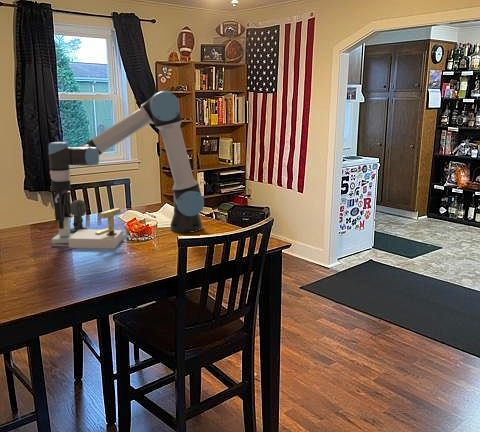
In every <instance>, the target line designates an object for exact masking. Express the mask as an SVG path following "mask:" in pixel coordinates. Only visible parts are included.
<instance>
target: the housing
mask: <svg viewBox="0 0 480 432" xmlns="http://www.w3.org/2000/svg"><path fill="white" fill-rule="evenodd" d="M101 230H102V229H89V228H87V229H79V230H78V231H77V232H76V233H74V234H73V235H72V236H71V237H69V238H68V242H69V246H68V248H69V249H74V248H75V249H116V248H117V247H118V246H119V244H120V243H121V242H122V240H123V239H124V231H123V229H114V234H112V235H110V234H109V232H107V233H104V234H101V235H95V232H98V231H101Z"/></svg>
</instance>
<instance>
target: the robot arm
mask: <svg viewBox="0 0 480 432" xmlns="http://www.w3.org/2000/svg"><path fill="white" fill-rule="evenodd" d="M180 106H181V104H180V100H179V98H178V97H177V95H175V94H174V93H172V92H171V91H168V90H161V91H158V92H155V93H154V94H153V95H152V96H151V97H150V98H149V99H148V100H146V101H145V102H144V103H142V104H141V105H140V108H139V109H137V110H136V111H134V112H132V113H130V114H129V115H127V116H126V117H125V118H123V119H121V120H119V121H117V122H116V123H115V124H113V125H112V126H110V127H108V128H107V129H105V130H104V131H103V132H100V133H99V134H98V135H96V136H94V137H92V138H91V139H90V140H89V141H86V142H84V143H83V144H81V145H80V146H75V147H72V146H69V144H68V142H66V141H54V142H49V143H48V161H49V174H50V179H51V181H50V185H51V186H50V187H51V190H53V191H55V197H53V198H52V201H53V207H54V219H55V222H57V224H58V234H59V236H66V224H65V221H64V217H68V218H69V219H70V218H72V214H71V192H70V191H69V190H70V189H71V186H72V184H71V180H70V179H71V171H70V170H71V169H70V166H90V167H91V166H97V165H99V163H100V155H102V154H103V153H105V152H107V151H108V150H110V149H112V148H113V147H114V146H116V145H118V144H120V143H121V142H123V141H124V140H126V139H127V138H129V137H131V136H132V135H133V134H136V133H137V132H138V131H140V130H142V129H143V128H145V127H147V126H148V125H149V124H151V125H154V127H155V128H157V129H158V130H159V131H160V134H161V135H160V136H161V137H162V142H163V145H164V149H165V150H164V151H165V152H166V156H167V160H168V164H169V167H170V172H171V175H172V179H173V186H172V193H173V215H172V219H171V221H170V230H171V231H172V232H175V233H180V232H190V231H196V230H199V229H201V228H202V229H203V222H202V218H201V216H200V213H201V212H202V211H203V209H204V205H205V199H204V197H203V195H202V193H201V189H200V185H199V181H198V180H196V179H195V178H194V175H193V171H192V168H191V163H190V158H189V155H188V151H187V147H186V143H185V140H184V137H183V136H184V135H183V132H182V128H181V124H182V122H183V116H182V114H181V113H182V112H181V110H180V108H181V107H180ZM70 226H71V225H70V221H69V230H70V229H71V227H70Z"/></svg>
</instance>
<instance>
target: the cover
mask: <svg viewBox="0 0 480 432" xmlns="http://www.w3.org/2000/svg"><path fill="white" fill-rule="evenodd" d="M64 221H65V224H66V236H59V233H58V234H57V235H54V237H53V238H51V244H54V243H69V242H68V238H69V237H71V236H72V235H73V234H74V233H70V230H69V222H70V217H69V218H68V217H64Z"/></svg>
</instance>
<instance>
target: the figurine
mask: <svg viewBox="0 0 480 432" xmlns="http://www.w3.org/2000/svg"><path fill="white" fill-rule="evenodd" d="M70 204H71V216H74V219H73V223H72V225H73V228H70V233H76V232H77V231H78V230H79V229H88V227H84V226H83V225H84V224H83V222H84V219H83V216H85V215H86V213H87V204H86V203H85V201H84V200H81V199H75V200H73V201H71V202H70Z"/></svg>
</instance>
